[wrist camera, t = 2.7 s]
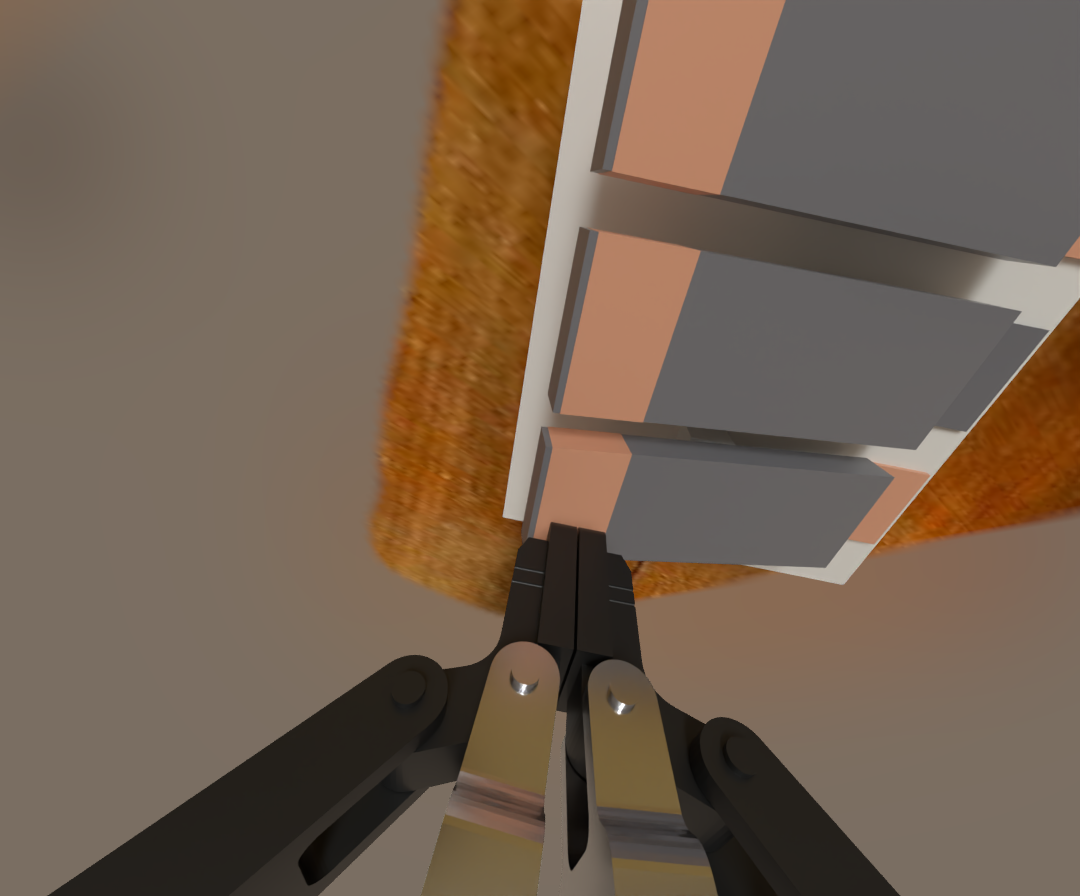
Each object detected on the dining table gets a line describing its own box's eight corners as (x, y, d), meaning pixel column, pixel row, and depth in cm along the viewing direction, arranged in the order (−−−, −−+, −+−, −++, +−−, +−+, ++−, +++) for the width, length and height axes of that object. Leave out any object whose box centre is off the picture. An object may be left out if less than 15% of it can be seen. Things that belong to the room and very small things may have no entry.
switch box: (1146, 16, 12) (1512, -112, 7) (803, 526, 22) (861, 610, 17) (607, -88, 12) (619, -281, 7) (515, 469, 22) (496, 538, 17)
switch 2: (976, 300, 12) (1022, 311, 11) (884, 431, 14) (915, 450, 13) (579, 226, 10) (590, 229, 9) (547, 393, 12) (552, 413, 11)
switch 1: (1154, 44, 9) (1242, 25, 8) (1003, 260, 11) (1056, 267, 10) (649, -140, 7) (677, -198, 6) (589, 172, 9) (602, 169, 8)
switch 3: (866, 457, 15) (895, 477, 14) (805, 545, 17) (825, 568, 16) (541, 425, 12) (545, 447, 11) (521, 531, 15) (523, 556, 14)
